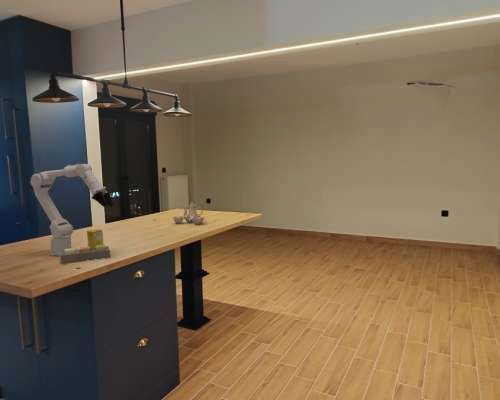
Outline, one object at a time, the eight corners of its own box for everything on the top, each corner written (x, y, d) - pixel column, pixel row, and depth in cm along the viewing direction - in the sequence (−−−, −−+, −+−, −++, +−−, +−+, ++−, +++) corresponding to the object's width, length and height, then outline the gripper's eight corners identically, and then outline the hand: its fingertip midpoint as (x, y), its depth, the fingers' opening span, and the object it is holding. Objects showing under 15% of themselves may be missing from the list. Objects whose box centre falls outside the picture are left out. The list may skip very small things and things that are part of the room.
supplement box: (98, 248, 212) (96, 228, 211) (104, 249, 208) (102, 229, 207) (88, 250, 207) (86, 230, 206) (93, 251, 204) (92, 231, 202)
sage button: (95, 251, 193) (95, 245, 192) (105, 250, 194) (104, 244, 194) (96, 253, 189) (95, 247, 188) (105, 252, 190) (105, 246, 190)
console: (61, 259, 189) (61, 250, 189) (108, 253, 198) (108, 245, 198) (61, 264, 180) (60, 255, 180) (110, 257, 189) (109, 249, 188)
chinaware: (169, 227, 284) (167, 205, 281) (179, 221, 300) (177, 200, 296) (203, 228, 276) (201, 205, 272) (212, 221, 291) (210, 200, 288)
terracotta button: (80, 253, 190) (80, 247, 190) (90, 252, 192) (89, 246, 191) (80, 255, 186) (80, 249, 186) (90, 254, 188) (90, 248, 187)
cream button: (65, 255, 187) (64, 249, 187) (75, 253, 189) (74, 248, 188) (64, 257, 183) (64, 250, 183) (75, 255, 185) (74, 249, 184)
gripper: (93, 178, 184) (109, 201, 184) (106, 180, 199) (120, 201, 198) (81, 186, 184) (97, 209, 184) (95, 188, 199) (110, 209, 198)
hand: (108, 206), depth 191 cm, fingers open, 7 cm apart
